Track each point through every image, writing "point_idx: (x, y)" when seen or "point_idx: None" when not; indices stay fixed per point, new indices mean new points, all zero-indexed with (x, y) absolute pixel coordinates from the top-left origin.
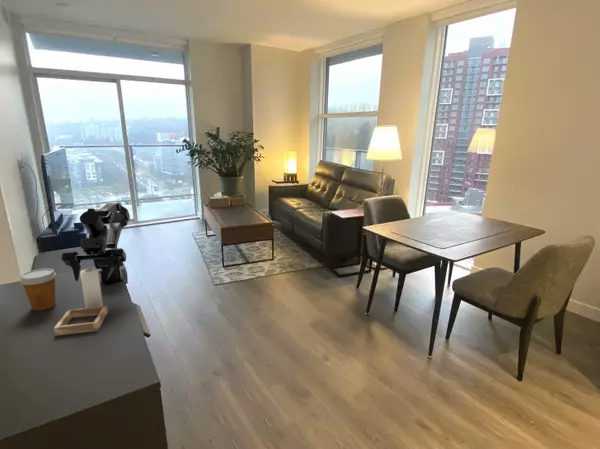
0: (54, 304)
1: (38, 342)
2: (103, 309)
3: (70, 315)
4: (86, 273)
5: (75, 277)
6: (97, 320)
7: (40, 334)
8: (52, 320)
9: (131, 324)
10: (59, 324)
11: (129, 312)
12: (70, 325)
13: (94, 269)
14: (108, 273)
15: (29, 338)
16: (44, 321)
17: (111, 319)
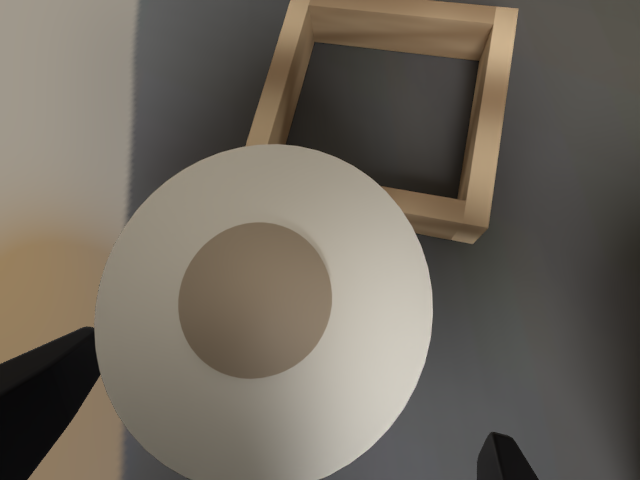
0: None
1: (568, 16)
2: (257, 134)
3: (462, 195)
4: (296, 159)
5: (523, 471)
6: (291, 13)
7: (587, 90)
8: (574, 240)
9: (155, 29)
10: (495, 38)
11: (142, 155)
12: (429, 8)
13: (150, 344)
14: (28, 351)
15: (634, 69)
16: (625, 247)
17: (236, 112)
